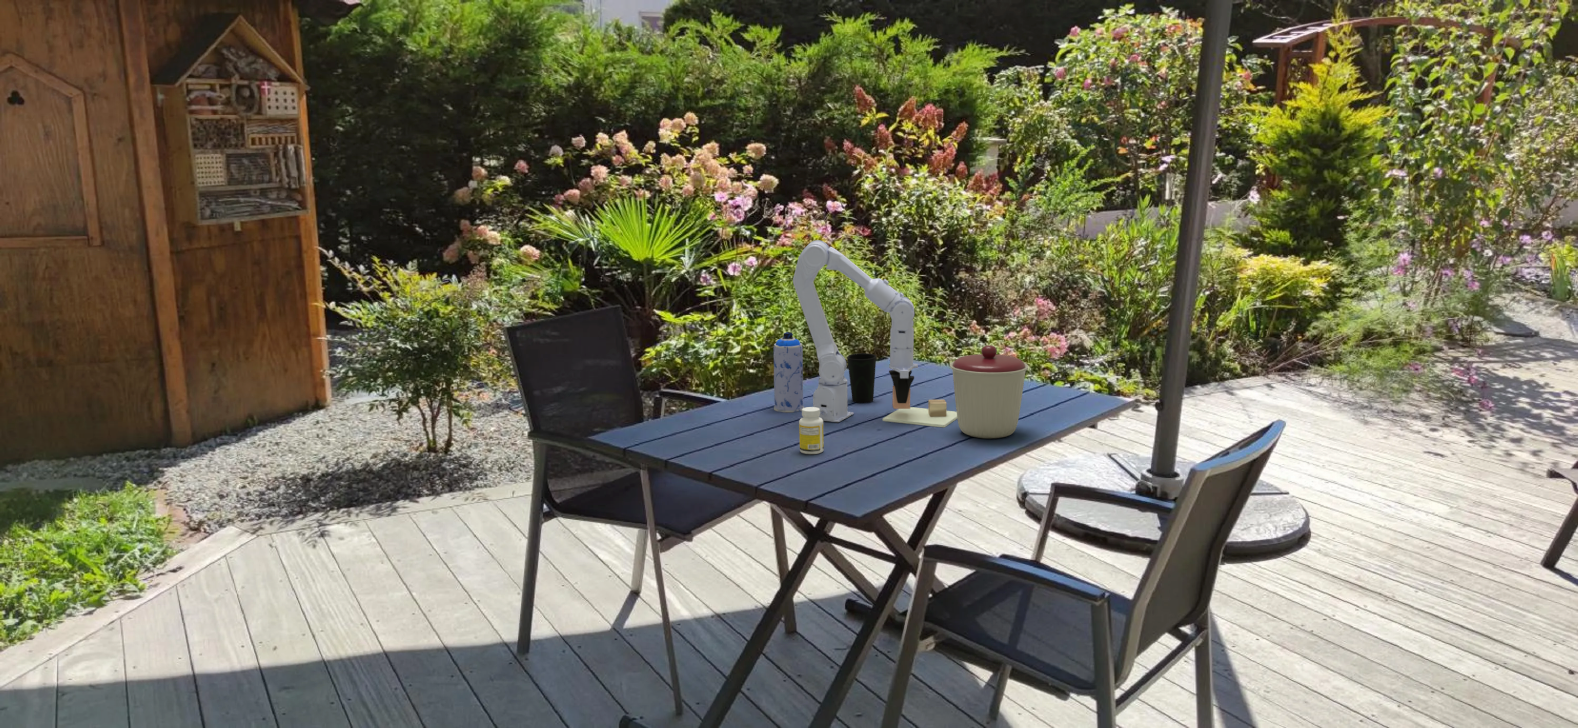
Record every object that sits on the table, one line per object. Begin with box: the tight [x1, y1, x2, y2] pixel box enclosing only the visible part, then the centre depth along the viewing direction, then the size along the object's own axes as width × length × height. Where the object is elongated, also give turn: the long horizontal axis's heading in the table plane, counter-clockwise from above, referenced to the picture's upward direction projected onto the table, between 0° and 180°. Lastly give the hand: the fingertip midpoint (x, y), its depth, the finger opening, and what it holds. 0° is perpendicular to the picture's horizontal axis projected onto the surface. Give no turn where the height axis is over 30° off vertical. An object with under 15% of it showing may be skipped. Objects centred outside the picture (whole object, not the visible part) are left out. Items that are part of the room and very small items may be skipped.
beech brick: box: [927, 399, 948, 417], centre depth 283 cm, size 4×4×3 cm
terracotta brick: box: [891, 385, 911, 410], centre depth 282 cm, size 4×4×5 cm
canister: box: [949, 344, 1029, 439], centre depth 265 cm, size 18×18×21 cm
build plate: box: [882, 406, 958, 428], centre depth 283 cm, size 14×16×1 cm
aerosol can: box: [773, 331, 805, 413], centre depth 292 cm, size 8×8×20 cm
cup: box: [846, 352, 877, 404], centre depth 300 cm, size 8×8×12 cm
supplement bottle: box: [798, 406, 825, 455], centre depth 253 cm, size 5×5×10 cm
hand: (900, 400), depth 282 cm, fingers closed on terracotta brick, 4 cm apart
